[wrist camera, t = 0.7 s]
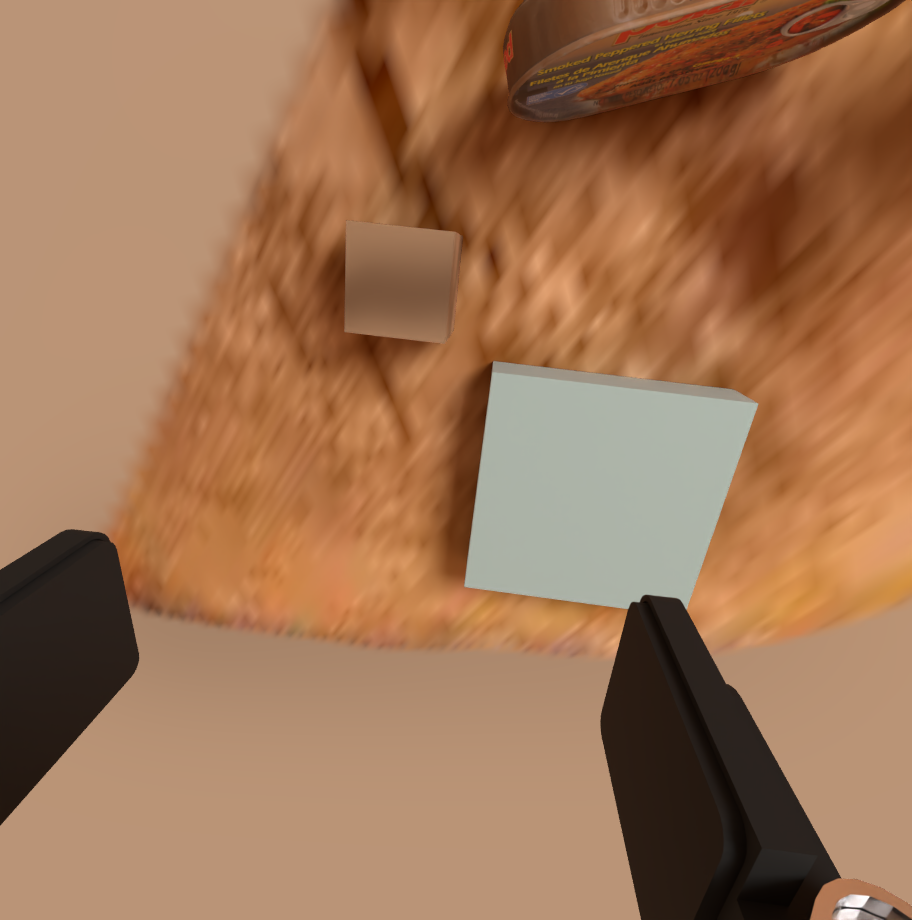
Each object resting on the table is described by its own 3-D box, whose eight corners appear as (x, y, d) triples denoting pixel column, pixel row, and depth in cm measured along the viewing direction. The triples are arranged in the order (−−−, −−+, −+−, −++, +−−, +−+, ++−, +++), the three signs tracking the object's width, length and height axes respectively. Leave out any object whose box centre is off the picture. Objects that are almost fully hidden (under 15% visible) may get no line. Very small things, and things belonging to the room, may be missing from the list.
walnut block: (372, 226, 27) (346, 220, 23) (462, 236, 27) (455, 231, 22) (369, 320, 29) (344, 332, 24) (453, 330, 29) (444, 344, 24)
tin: (507, 136, 25) (511, 81, 17) (497, 61, 24) (496, -33, 16) (832, 56, 23) (1005, -49, 15) (838, -31, 22) (1027, -192, 14)
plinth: (493, 361, 29) (492, 372, 26) (733, 389, 29) (758, 403, 26) (467, 560, 35) (464, 586, 32) (669, 587, 34) (684, 616, 31)
